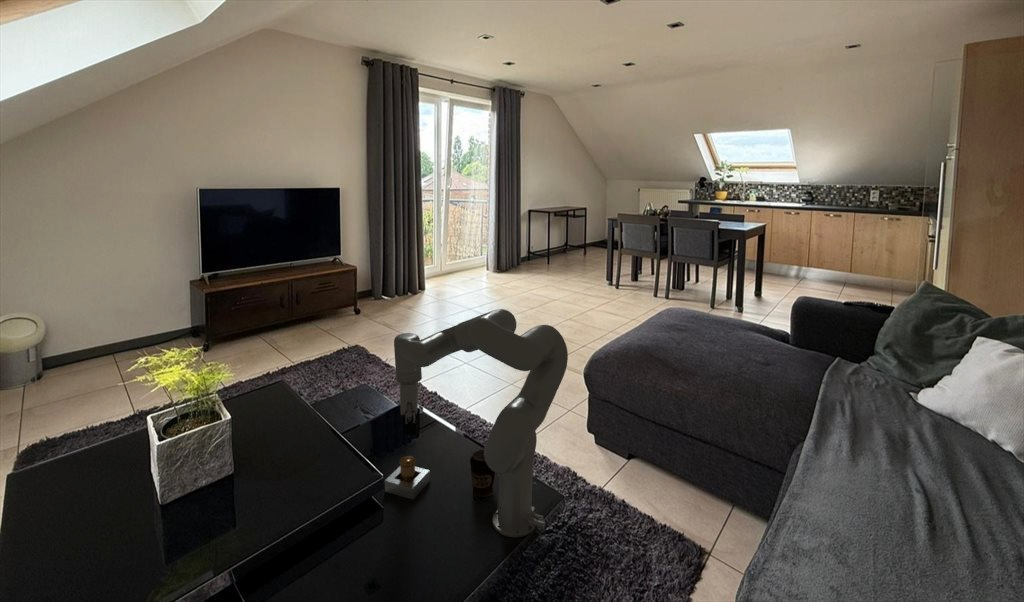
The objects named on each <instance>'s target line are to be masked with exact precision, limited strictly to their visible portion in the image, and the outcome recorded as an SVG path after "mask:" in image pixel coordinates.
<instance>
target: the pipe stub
mask: <svg viewBox="0 0 1024 602" xmlns="http://www.w3.org/2000/svg"><path fill="white" fill-rule="evenodd" d="M416 461H417V458H416V457H414V456H412V455H405V456H402V457H401V458H400V459H399V461H398V462H399V467H401V481H404V482H408V483H411V482H412V481H413V480H414V479H415V467H416V463H417V462H416Z"/></svg>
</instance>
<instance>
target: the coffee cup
mask: <svg viewBox="0 0 1024 602" xmlns="http://www.w3.org/2000/svg"><path fill="white" fill-rule="evenodd" d="M469 464H470V476H471V484H472V491H473V494H474V495H475V496H476V497H481V498H485V497H489V496H491V495H493V493H494V487H493V486H494V481H495V479H496V472H494V471H492V470H491V469H490V468H489V467H488V466H487V464H486V462H485V459H484V449H479V450H477V451H474V452H473V453H472V455H471V456H470V459H469Z"/></svg>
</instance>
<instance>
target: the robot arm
mask: <svg viewBox="0 0 1024 602" xmlns="http://www.w3.org/2000/svg"><path fill="white" fill-rule="evenodd" d="M516 330H517V319H516V317H515V315H514V314H513V313H512V312H511V311H510V310H508V309H504V308H499V309H498V308H497V309H494V310H491V311H488V312H485V313H483V314H480V315H478V316H475V317H472V318H470V319H467V320H464V321H462V322H459V323H457V324H456V325H454V326H451V327H448V328H445V329H443V330H440V331H437V332H435V333H433V334H431V335H428V336H427V337H424V338H422V339H420V336H419V335H418V334H416V333H413V332H412V333H411V332H405V333H401V334H398V335H396V336H395V337H394V340H393V348H394V349H393V350H394V364H395V365H394V366H395V381H396V382H397V383H398V384H399V403H400V404H399V405H400V415H401V416H404V415H405V422H404V427H405V428H404V429H405V432H404V433H405V436H414V435H417V433H418V432H417V421H416V420H417V419H418V409H419V382H420V381H422V379H423V377H422V375H423V374H422V368H428V367H429V366H431V365H433V364H434V363H436V362H438V361H439V360H442V359H444V358H445V357H446V356H450V355H452V354H455V353H456V352H457V353H458V352H461V351H463V352H466V353H472V352H475V351H478V350H479V351H480V352H482V353H484V354H485V355H487V356H489V357H491V358H492V359H495V360H497V361H498V362H500V363H503V364H505V365H507V366H508V367H510V368H512V369H515V370H517V371H521V372H528V374H527V376H526V379H525V381H524V383H523V384H522V387H521V389H520V391H519V393H518V394H517V395H516V396H515V397H514V398H513V399H512V400H511V401H510V402H508V404H506V405H505V406H504V408H502V410H501V411H500V413H499V414H498V415H497V417H496V419H495V421H494V423H493V426H492V428H491V430H490V433H489V435H488V437H487V440H486V442H485V445H484V448H483V450H484V459H485V462H486V464H487V466H488V467H489V468H490V469H491V470H492V471H494V472H495V474H496V473H497V474H498V475H497V476H498V487H497V488H498V490H497V491H498V492H497V493H498V494H497V509H496V510H495V512H494V513H493V515H492V526H493V528H494V529H495V531H497V533H498V534H501V536H505V537H509V538H520V537H521V538H522V537H524V536H528V535H529V534H531V533H532V532H533V531H534V530H535V529H536V527H537V528H538V529H542V530H544V529H545V526H546V521H544V515H541V514H537V512H535V506H532V503H533V502H532V501H533V496H532V495H533V477H534V476H533V474H534V473H533V472H534V460H535V454H536V450H537V449H536V447H537V437H538V436H537V432H536V431H537V429H538V428H539V427H540V426H541V425H542V423H543V422H544V421H545V419H546V416H547V414H548V412H549V409H550V407H551V406H552V403H553V401H554V398H556V397H555V396H556V395H557V392H558V390H559V387H560V385H561V384H562V381H563V379H564V377H565V373H566V370H567V367H568V359H569V358H568V357H569V354H568V353H569V352H568V347H567V344H566V341H565V338H564V337H563V335H562V334H561V333H560V332H559V330H558V329H557V328H555V327H554V326H552V325H549V324H539V325H535V326H534V327H532V328H530V329H528V330H527V331H525V332H524V333H522V334H520V335H519V334H517V333H515V332H516Z"/></svg>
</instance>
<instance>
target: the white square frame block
mask: <svg viewBox="0 0 1024 602" xmlns="http://www.w3.org/2000/svg"><path fill="white" fill-rule="evenodd" d="M430 471H431V470H429V469H425V468H423V467H418V466H415V479H414V480H413V481H412V482H411V483H408V482H404V481H401V467H400V466H398V467H397V469H395V470H394V471H393V472H392V473H391V474H390V475H389V476H388V477H387V478H386V479H384V490H385V493H388V494H392V495H395V496H398V497H401V498H405V499H409V500H411V499H412V501H413V500H414V499H415V498H416V497H417V496H418V495H419V494H420V493H421V492H422V491H423V490H424V488H426V487H427V485H428V484H429V483H430V482H431V472H430Z"/></svg>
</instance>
